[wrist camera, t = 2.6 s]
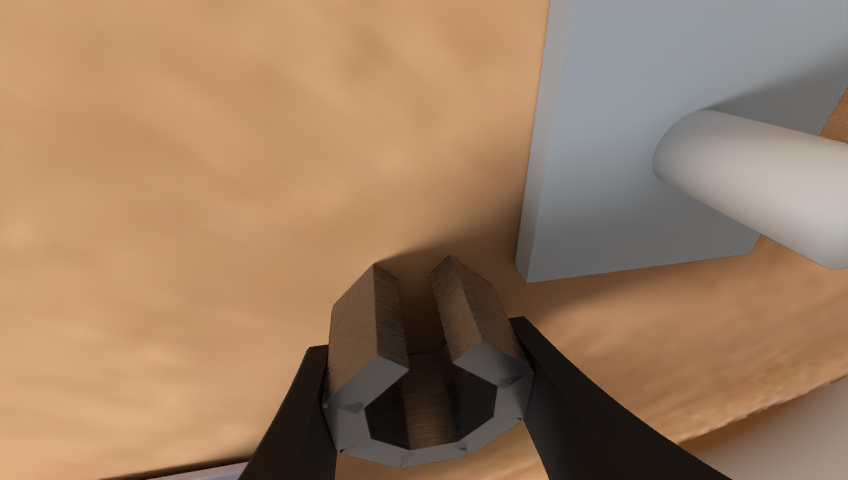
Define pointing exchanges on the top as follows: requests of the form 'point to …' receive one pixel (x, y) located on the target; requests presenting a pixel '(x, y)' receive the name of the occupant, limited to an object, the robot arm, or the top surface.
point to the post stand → (685, 135)
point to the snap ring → (422, 372)
